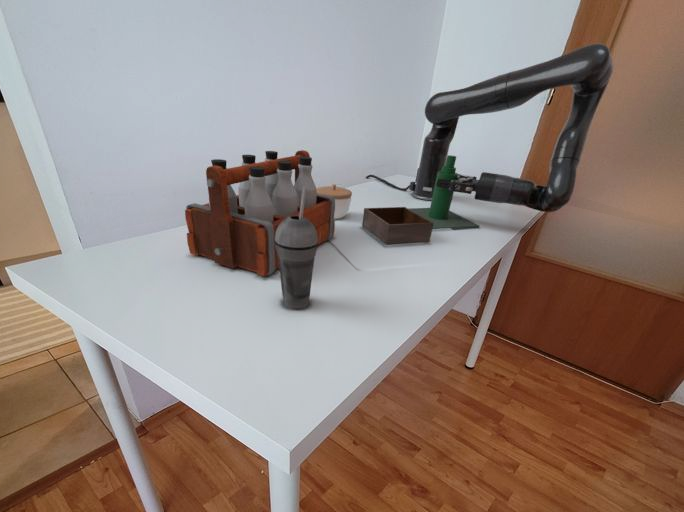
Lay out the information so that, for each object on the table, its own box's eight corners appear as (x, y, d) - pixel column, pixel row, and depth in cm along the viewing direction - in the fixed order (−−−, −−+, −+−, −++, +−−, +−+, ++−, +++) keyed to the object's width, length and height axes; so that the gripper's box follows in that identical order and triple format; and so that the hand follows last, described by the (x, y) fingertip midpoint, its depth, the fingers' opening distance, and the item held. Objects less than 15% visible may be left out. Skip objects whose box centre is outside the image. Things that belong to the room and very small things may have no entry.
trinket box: (332, 210, 117) (334, 179, 111) (356, 219, 111) (360, 186, 105) (307, 215, 111) (308, 182, 105) (331, 225, 105) (333, 190, 99)
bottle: (424, 214, 118) (437, 154, 108) (440, 213, 120) (454, 154, 110) (435, 220, 113) (449, 157, 103) (450, 219, 115) (466, 158, 105)
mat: (397, 211, 122) (397, 208, 121) (442, 209, 127) (443, 207, 127) (429, 230, 107) (430, 228, 106) (478, 228, 113) (479, 225, 112)
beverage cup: (276, 293, 69) (273, 180, 57) (315, 294, 70) (319, 182, 58) (275, 312, 63) (271, 191, 51) (316, 313, 64) (322, 193, 52)
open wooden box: (361, 227, 105) (364, 208, 102) (401, 225, 109) (405, 206, 106) (385, 246, 94) (388, 225, 90) (429, 243, 98) (433, 223, 94)
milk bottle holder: (338, 236, 98) (345, 155, 86) (259, 283, 72) (253, 177, 60) (274, 220, 105) (272, 144, 93) (180, 258, 79) (162, 159, 68)
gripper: (499, 170, 110) (445, 163, 114) (498, 178, 99) (438, 170, 103) (491, 196, 114) (439, 188, 119) (489, 206, 103) (432, 197, 108)
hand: (439, 180), depth 111 cm, fingers open, 8 cm apart
